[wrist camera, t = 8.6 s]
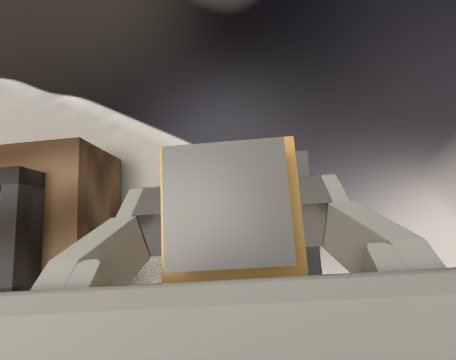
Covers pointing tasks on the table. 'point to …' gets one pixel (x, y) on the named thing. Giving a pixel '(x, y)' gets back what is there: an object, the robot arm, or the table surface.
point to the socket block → (50, 203)
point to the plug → (231, 211)
